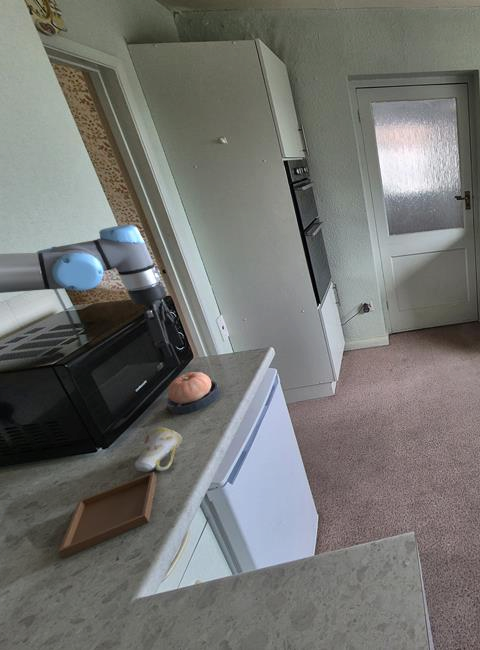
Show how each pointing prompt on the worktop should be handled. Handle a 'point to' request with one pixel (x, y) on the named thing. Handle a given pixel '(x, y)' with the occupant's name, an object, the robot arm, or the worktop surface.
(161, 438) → the mug
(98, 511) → the tray
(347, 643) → the worktop surface
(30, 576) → the worktop surface
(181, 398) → the pumpkin
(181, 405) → the dark blue ring
